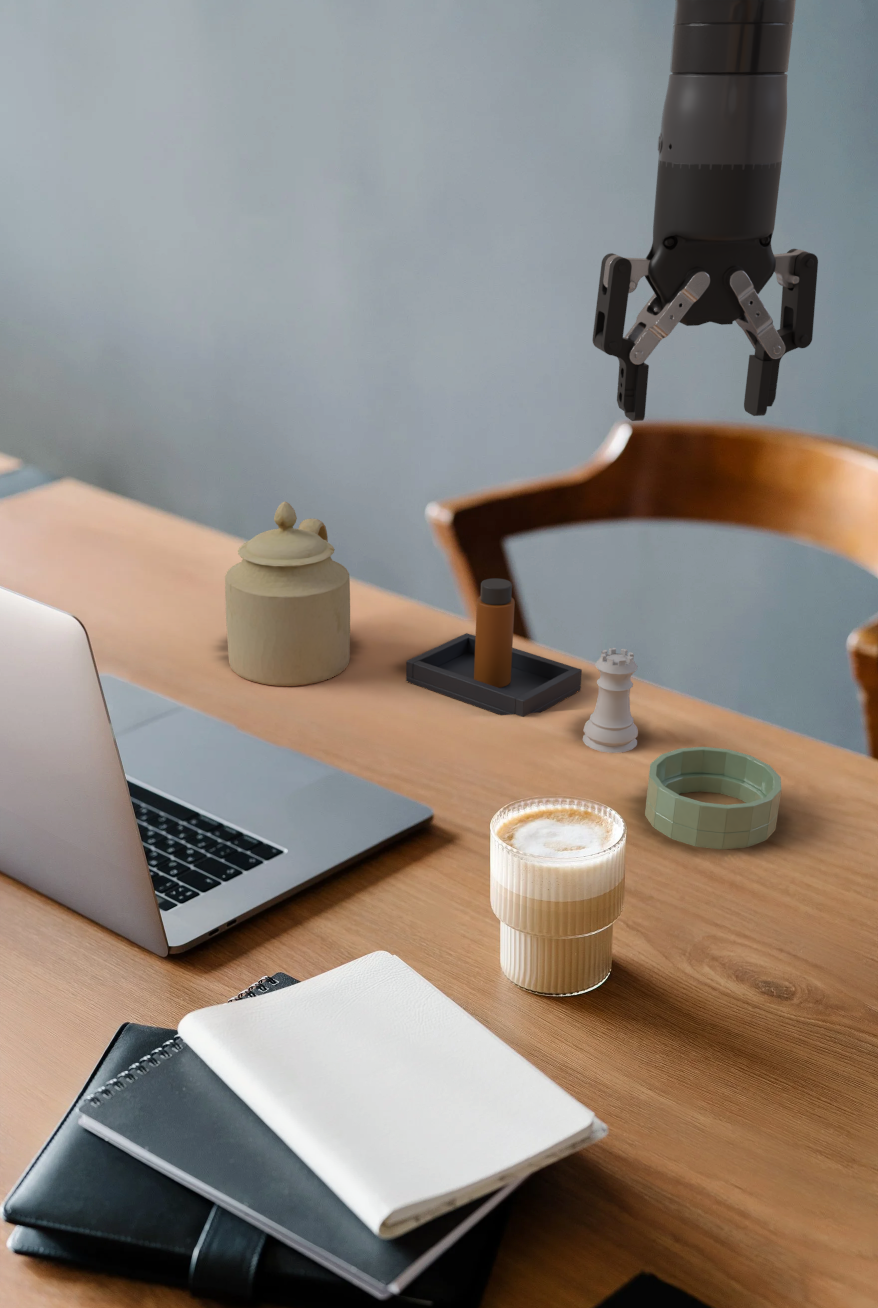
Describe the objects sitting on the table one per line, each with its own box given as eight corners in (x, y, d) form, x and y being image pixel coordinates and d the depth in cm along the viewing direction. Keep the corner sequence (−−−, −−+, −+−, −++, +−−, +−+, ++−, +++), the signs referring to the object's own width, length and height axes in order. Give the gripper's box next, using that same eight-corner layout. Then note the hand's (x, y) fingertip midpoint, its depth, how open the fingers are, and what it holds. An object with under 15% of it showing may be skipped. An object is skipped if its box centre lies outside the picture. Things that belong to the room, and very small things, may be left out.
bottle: (505, 672, 123) (510, 575, 119) (514, 687, 120) (519, 588, 116) (470, 674, 122) (473, 577, 118) (478, 689, 120) (482, 591, 116)
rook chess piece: (569, 745, 111) (576, 653, 108) (605, 729, 114) (612, 638, 110) (613, 764, 108) (622, 670, 105) (649, 747, 111) (658, 654, 107)
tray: (580, 690, 121) (582, 669, 120) (522, 722, 115) (523, 701, 114) (465, 652, 128) (466, 632, 127) (405, 681, 122) (406, 660, 121)
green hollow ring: (742, 796, 104) (749, 742, 102) (794, 858, 96) (803, 801, 94) (626, 806, 103) (631, 751, 100) (670, 870, 95) (676, 812, 93)
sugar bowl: (215, 629, 133) (207, 475, 126) (328, 620, 135) (326, 468, 129) (237, 692, 120) (230, 524, 113) (362, 680, 122) (362, 515, 116)
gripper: (630, 160, 82) (610, 434, 89) (855, 156, 84) (819, 424, 91) (591, 152, 89) (576, 408, 96) (801, 149, 91) (771, 399, 98)
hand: (694, 416), depth 94 cm, fingers open, 8 cm apart
